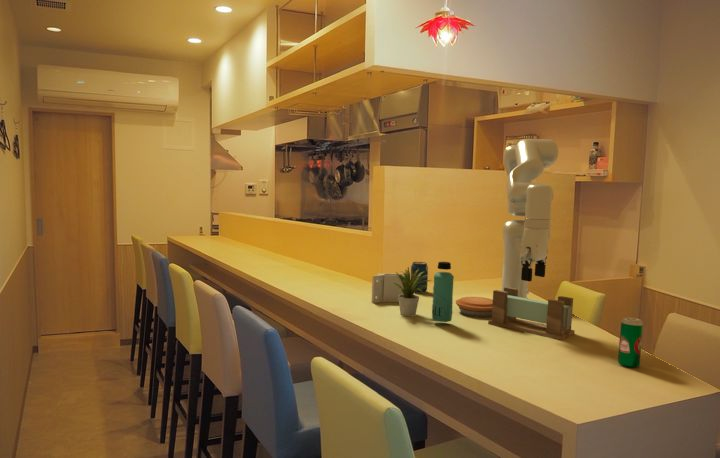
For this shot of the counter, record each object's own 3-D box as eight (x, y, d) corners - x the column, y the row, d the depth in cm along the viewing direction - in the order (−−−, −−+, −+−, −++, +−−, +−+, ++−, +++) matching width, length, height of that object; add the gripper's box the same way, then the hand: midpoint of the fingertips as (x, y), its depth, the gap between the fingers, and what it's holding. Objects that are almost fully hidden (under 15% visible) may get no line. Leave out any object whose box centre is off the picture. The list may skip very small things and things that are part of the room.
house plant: (416, 323, 175) (419, 272, 174) (379, 316, 183) (381, 267, 181) (435, 314, 187) (437, 267, 186) (399, 308, 195) (401, 262, 193)
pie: (501, 320, 183) (502, 305, 183) (454, 316, 186) (454, 302, 186) (499, 310, 198) (500, 296, 198) (455, 306, 202) (456, 293, 201)
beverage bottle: (453, 322, 177) (456, 261, 175) (449, 327, 171) (453, 264, 169) (433, 320, 179) (436, 259, 178) (429, 325, 173) (432, 262, 171)
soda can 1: (429, 291, 227) (431, 262, 226) (422, 294, 221) (423, 264, 220) (414, 289, 231) (415, 261, 230) (406, 291, 225) (408, 262, 224)
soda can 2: (613, 362, 143) (617, 316, 142) (632, 362, 143) (635, 316, 142) (624, 368, 138) (628, 321, 137) (643, 368, 138) (647, 321, 137)
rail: (498, 311, 182) (499, 293, 182) (571, 325, 167) (572, 306, 166) (493, 313, 180) (494, 294, 179) (566, 327, 164) (568, 308, 164)
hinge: (372, 303, 202) (373, 276, 201) (367, 300, 207) (368, 273, 206) (407, 302, 206) (408, 275, 205) (402, 299, 211) (403, 273, 210)
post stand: (502, 318, 185) (504, 286, 184) (574, 333, 169) (576, 298, 169) (488, 323, 178) (490, 290, 177) (561, 339, 162) (564, 303, 161)
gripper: (537, 221, 180) (533, 273, 182) (513, 225, 167) (509, 280, 169) (559, 223, 175) (555, 276, 177) (536, 227, 162) (532, 284, 164)
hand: (533, 278), depth 173 cm, fingers open, 9 cm apart
